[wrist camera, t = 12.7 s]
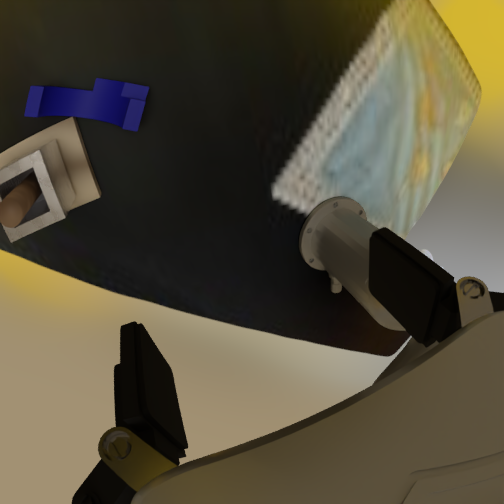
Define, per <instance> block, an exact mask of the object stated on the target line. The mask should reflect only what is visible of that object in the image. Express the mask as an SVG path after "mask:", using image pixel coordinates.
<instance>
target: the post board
mask: <svg viewBox="0 0 504 504" xmlns="http://www.w3.org/2000/svg"><path fill="white" fill-rule="evenodd" d="M55 139H56V142H57V145H58V148H59V151H60V154H61V157H62V160H63V163H64V166H65V169H66V171H67V174H68V177H69V180H70V182H71V185H72V188H73V190H74V193H75V195H76V198H75V200H74V202H73V204H72V206H71V208H70V210H71V209H73V208H76V207H78V206H80V205H83V204H85V203H88V202H90V201H92V200H95V199H97V198H100V196H101V191H100V188H99V185H98V183H97V180H96V177H95V175H94V172H93V169H92V166H91V163H90V160H89V157H88V154H87V151H86V148H85V145H84V142H83V139H82V136H81V133H80V130H79V126H78V123H77V120H76V117H71V118H68V119H66V120H64V121H62V122H59V123H57V124H55V125H53V126H51V127H49V128H47V129H45V130H43V131H41V132H39V133H37V134H35V135H33V136H31V137H29V138H27V139H25V140H23V141H22V142H20V143H18V144H16V145H14V146H13V147H11V148H9V149H7V150H6V151H4V152H2V153H1V154H0V168H1V167H3V166H4V165H6V164H8V163H9V162H11V161H13V160H15V159H17V158H19V157H20V156H22V155H24V154H26V153H28V152H30V151H32V150H34V149H36V148H38V147H40V146H42V145H44V144H46V143H48V142H51V141H53V140H55ZM19 178H20V180H21V183H20V184H19V185H17V186H16V187H15V188H14V189H13V190H12V191H11V192H10V193H9V194H8V195H7V196H6V197H5V198H4V199H3V200H2V201H1V202H0V222H1V223H2V224H3V225H4V226H5V227H8V228H14V227H16V226H17V225H18V224H19V223H20V222H21V220H22V219H23V218H24V216H25V215H26V213H27V212H28V211H29V209H30V208H31V207H32V205H34V204H36V203H38V202H40V201H42V200H44V199H45V197H44V194H43V192H42V189H41V187H40V184H39V182H38V179H37V177H36V174H35V171H34V168H33V167H32V168H30V169H28V170H26V171H24V172H22V173H21V174H19Z"/></svg>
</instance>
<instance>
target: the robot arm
mask: <svg viewBox="0 0 504 504" xmlns="http://www.w3.org/2000/svg"><path fill="white" fill-rule="evenodd" d="M299 249H300V253H301V255H302V257H303V259H304V260H305V261H306V262H307V263H308V264H309V265H310V266H311V267H313V268H315V269H318V270H326V271H327V272H328V273H329V277H330V278H331V291H332V292H334V293H338V292H340V291H341V290H342V285H343V286H344V287H345V288H346V289H347V290H348V291H349V293H350V294H351V295H352V296H353V297H354V298H355V299H356V300H357V301H358V302H359V303H360V304H361V305H362V306H363V307H364V308H365V309H366V310H367V312H368V313H369V314H370V315H371V316H372V317H373V318H374V319H375V320H376V321H377V322H378V323H379V324H381V325H382V326H384V327H386V328H388V329H393V330H406V331H407V332H408V333H409V334H410V335H411V336H412V338H411V339H410V340H409V342H408V343H407V345H406V346H405V347H404V348H403V350H402V351H401V352H400V353H399V354H398V355H397V357H396V358H395V359H394V360H393V361H392V362H391V363H390V365H389V366H388V367H387V368H386V369H385V370H384V371H383V372H382V373H381V374H380V376H379V377H378V378H377V379H376V380H375V382H374V383H373V385H372V386H370V387H368V388H366V389H365V390H363V391H361V392H359V393H357V394H355V395H353V396H352V397H349V398H348V399H346V400H344V401H342V402H340V403H338V404H336V405H334V406H332V407H330V408H328V409H325V410H323V411H321V412H319V413H317V414H315V415H313V416H310V417H309V418H306V419H304V420H301V421H299V422H297V423H295V424H292V425H290V426H287V427H285V428H283V429H280V430H278V431H275V432H273V433H270V434H268V435H265V436H263V437H260V438H257V439H254V440H251V441H249V442H246V443H244V444H240V445H238V446H235V447H232V448H229V449H226V450H223V451H220V452H217V453H214V454H211V455H208V456H205V457H202V458H199V459H196V460H193V461H190V462H187V463H185V464H182V465H180V466H179V464H180V462H179V458H183V457H186V454H185V450H184V449H187V448H188V443H187V439H186V435H185V431H184V426H183V422H182V417H181V412H180V408H179V403H178V398H177V393H176V388H175V383H174V377H173V373H172V370H171V368H170V366H169V364H168V363H167V361H166V360H165V359H164V357H163V355H162V354H161V352H160V351H159V349H158V348H157V346H156V345H155V343H154V342H153V340H152V338H151V337H150V335H149V334H148V332H147V331H146V329H145V327H144V326H143V324H141V323H140V324H137V322H131V323H128V324H125V325H122V326H121V329H120V364H117V365H115V367H114V399H115V421H116V427H113V428H111V429H109V430H108V431H106V432H105V433H104V434H103V436H102V437H101V438H100V441H99V444H98V451H99V455H100V457H101V458H102V459H101V460H100V461H99V463H98V464H97V465H96V467H95V468H94V469H93V471H92V472H91V473H90V474H89V476H88V477H87V478H86V480H85V481H84V482H83V484H82V485H81V486H80V487H79V489H78V490H77V491H76V493H75V494H74V496H73V500H72V504H504V293H499V292H490V291H488V288H487V286H486V285H485V284H484V283H483V281H481V280H480V279H477V278H475V277H463V278H461V279H459V280H458V282H457V283H455V282H454V277H453V276H452V275H450V274H449V273H447V272H446V271H445V270H444V269H443V268H441V267H440V266H439V265H437V264H436V263H435V262H433V261H432V260H431V259H429V258H428V257H427V256H425V255H424V254H423V253H421V252H420V251H419V250H417V249H416V248H415V247H413V246H412V245H410V244H409V243H407V242H406V241H405V240H403V239H402V238H401V237H399V236H398V235H396V234H395V233H393V232H392V231H391V230H389V229H388V228H386V227H384V228H381V229H378V228H377V227H375V226H374V225H372V224H371V223H369V222H368V221H367V217H366V213H365V211H364V209H363V208H362V206H361V205H360V204H359V203H357V202H356V201H354V200H352V199H350V198H347V197H335V198H332V199H329V200H327V201H325V202H323V203H322V204H320V205H319V206H317V207H316V208H315V209H314V210H313V211H312V212H311V214H310V215H309V216H308V218H307V219H306V221H305V223H304V224H303V227H302V229H301V232H300V237H299Z"/></svg>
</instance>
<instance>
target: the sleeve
mask: <svg viewBox="0 0 504 504" xmlns="http://www.w3.org/2000/svg"><path fill="white" fill-rule="evenodd" d="M32 167H33V168H34V171H35V174H36V177H37V179H38V182H39V184H40V187H41V189H42V192H43V194H44V197H45V199H44V200H42V201H40V202H38V203H36V204H34V205H32V207H31V208H30V209H29V211H28V212H27V213H26V215H25V216H24V218H23V219H22V220H21V222H20V223H19V224H18V225H17V226H16V227H14V228H8V227H5V226H4V225H3V224H2V225H3V227H4V229H5V231H6V233H7V235H8V237H9V239H10V241H11V242H13V241H15V240H18V239H20V238H22V237H24V236H26V235H28V234H30V233H32V232H35V231H37V230H39V229H41V228H43V227H46V226H48V225H50V224H53V223H55V222H57V221H59V220H62V219H64V218H66V216H67V214H68V212H69V210H70V208H71V206H72V204H73V202H74V200H75V198H76V195H75V193H74V190H73V188H72V185H71V182H70V180H69V177H68V174H67V171H66V169H65V166H64V163H63V160H62V157H61V154H60V151H59V148H58V145H57V142H56V139H55V140H53V141H51V142H48V143H46V144H44V145H42V146H40V147H38V148H36V149H34V150H32V151H30V152H28V153H26V154H24V155H22V156H20V157H19V158H17V159H15V160H13V161H11V162H9V163H8V164H6V165H4V166H3V167H1V168H0V202H1V201H2V200H3V199H4V198H5V197H6V196H7V195H8V194H9V193H10V192H11V191H12V190H13V189H14V188H15V187H16V186H17V185H19V184H20V183H21V180H20V178H19V174H21V173H22V172H24V171H26V170H28V169H30V168H32Z"/></svg>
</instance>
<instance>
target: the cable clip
mask: <svg viewBox="0 0 504 504" xmlns="http://www.w3.org/2000/svg"><path fill="white" fill-rule="evenodd" d="M148 90H149V87H146V86H141V85H136V84H131V83H126V82H119V81H113V80H106V79H99V78H96V82H95V85H94V89H93V91H89V90H81V89H73V88H65V87H55V86H31V87H30V91H29V96H28V100H27V105H26V110H25V115H24V116H29V117H41V116H73V117H82V118H89V119H95V120H101V121H105V122H109V123H113V124H116V125H118V126H120V127H122V129H126V130H131V131H138V127H139V123H140V120H141V116H142V113H143V109H144V106H145V102H146V101H145V100H146V96H147V93H148Z"/></svg>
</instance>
